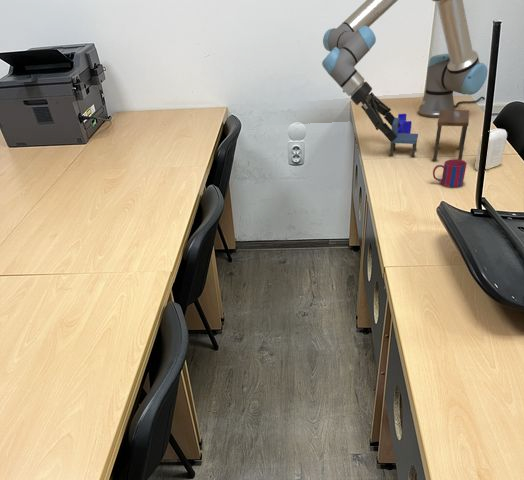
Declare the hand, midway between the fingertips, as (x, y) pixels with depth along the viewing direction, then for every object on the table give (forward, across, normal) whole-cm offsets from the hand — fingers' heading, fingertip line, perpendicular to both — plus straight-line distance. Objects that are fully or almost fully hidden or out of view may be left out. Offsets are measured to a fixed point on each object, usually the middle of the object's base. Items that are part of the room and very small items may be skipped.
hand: (396, 133), depth 192 cm
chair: (+7, 0, -3) cm, 8 cm away
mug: (+19, +28, +9) cm, 35 cm away
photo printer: (+28, +11, +18) cm, 35 cm away
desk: (+18, 0, +8) cm, 20 cm away
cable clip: (+5, -23, -5) cm, 24 cm away
